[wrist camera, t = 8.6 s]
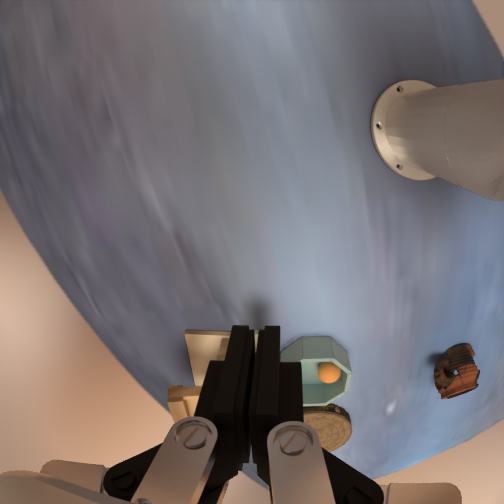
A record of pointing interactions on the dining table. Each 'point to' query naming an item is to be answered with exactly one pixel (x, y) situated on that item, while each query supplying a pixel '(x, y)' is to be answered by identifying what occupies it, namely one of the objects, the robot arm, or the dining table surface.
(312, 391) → the green octagonal bowl
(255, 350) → the robot arm
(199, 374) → the frame
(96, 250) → the dining table surface
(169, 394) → the lever
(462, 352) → the pottery mug
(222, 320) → the dining table surface
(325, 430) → the wood log slice
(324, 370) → the ball
